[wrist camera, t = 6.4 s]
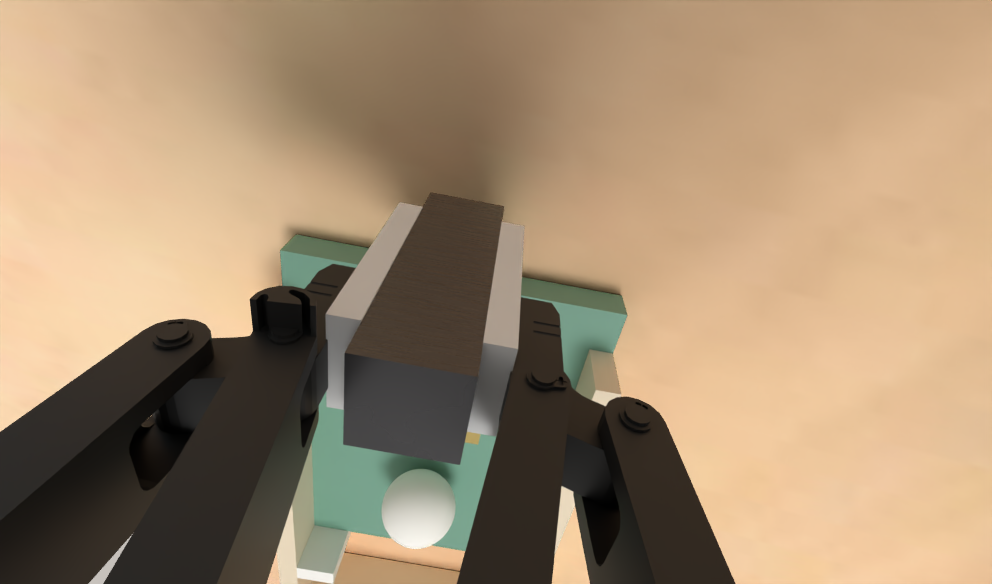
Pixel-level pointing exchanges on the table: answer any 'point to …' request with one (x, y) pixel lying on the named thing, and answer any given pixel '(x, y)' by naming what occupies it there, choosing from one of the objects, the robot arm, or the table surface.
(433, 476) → the ball
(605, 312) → the pitch
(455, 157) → the table surface
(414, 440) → the uneven dumbbell
